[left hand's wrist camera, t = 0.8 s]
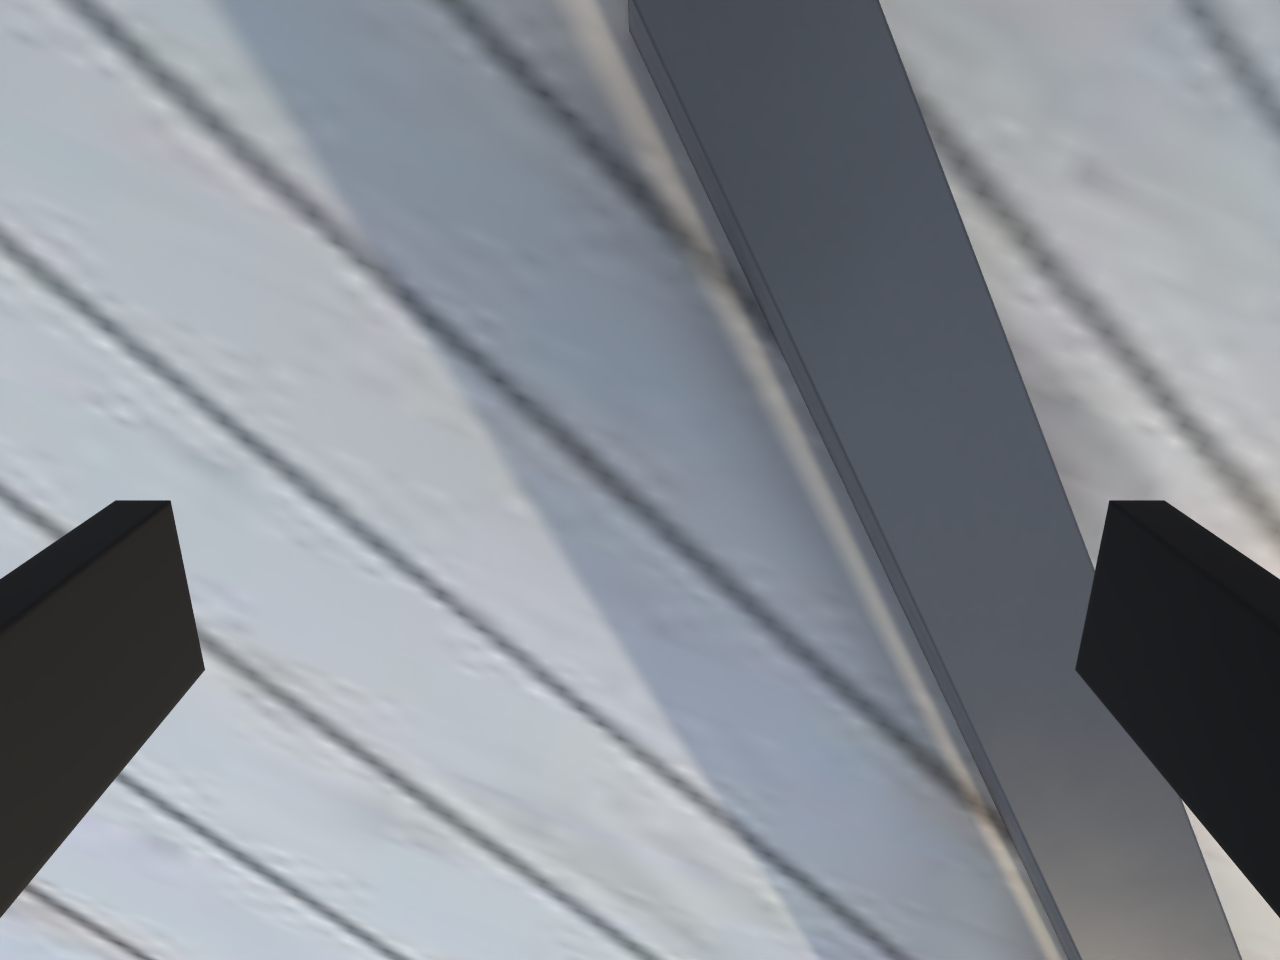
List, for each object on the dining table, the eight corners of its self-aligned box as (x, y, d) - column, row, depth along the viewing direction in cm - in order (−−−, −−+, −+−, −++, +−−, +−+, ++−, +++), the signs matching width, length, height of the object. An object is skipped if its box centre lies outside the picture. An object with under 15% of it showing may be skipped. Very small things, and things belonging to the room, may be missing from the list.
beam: (627, 27, 27) (625, -14, 20) (777, -60, 26) (829, -134, 19) (1183, 1202, 47) (1279, 1386, 40) (1277, 1172, 46) (1393, 1356, 39)
